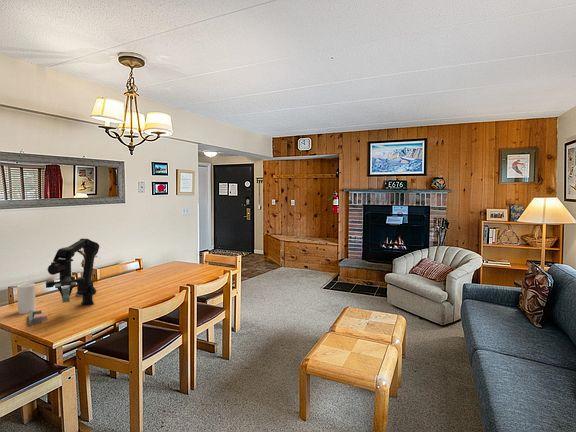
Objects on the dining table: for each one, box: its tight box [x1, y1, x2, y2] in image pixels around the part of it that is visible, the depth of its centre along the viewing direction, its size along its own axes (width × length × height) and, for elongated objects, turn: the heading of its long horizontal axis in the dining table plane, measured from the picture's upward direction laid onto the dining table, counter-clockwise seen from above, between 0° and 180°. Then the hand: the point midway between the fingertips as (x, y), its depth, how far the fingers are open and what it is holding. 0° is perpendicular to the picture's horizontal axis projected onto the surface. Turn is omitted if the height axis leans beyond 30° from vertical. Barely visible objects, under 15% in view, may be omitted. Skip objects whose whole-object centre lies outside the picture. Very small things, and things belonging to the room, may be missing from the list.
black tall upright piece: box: [75, 248, 101, 298], centre depth 238 cm, size 17×13×35 cm
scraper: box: [61, 286, 71, 304], centre depth 198 cm, size 12×3×6 cm, turn 35°
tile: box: [33, 312, 48, 322], centre depth 192 cm, size 6×6×2 cm
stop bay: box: [28, 309, 42, 327], centre depth 190 cm, size 18×6×3 cm, turn 36°
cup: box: [16, 282, 36, 315], centre depth 202 cm, size 8×8×16 cm
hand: (65, 296), depth 198 cm, fingers closed on scraper, 3 cm apart
